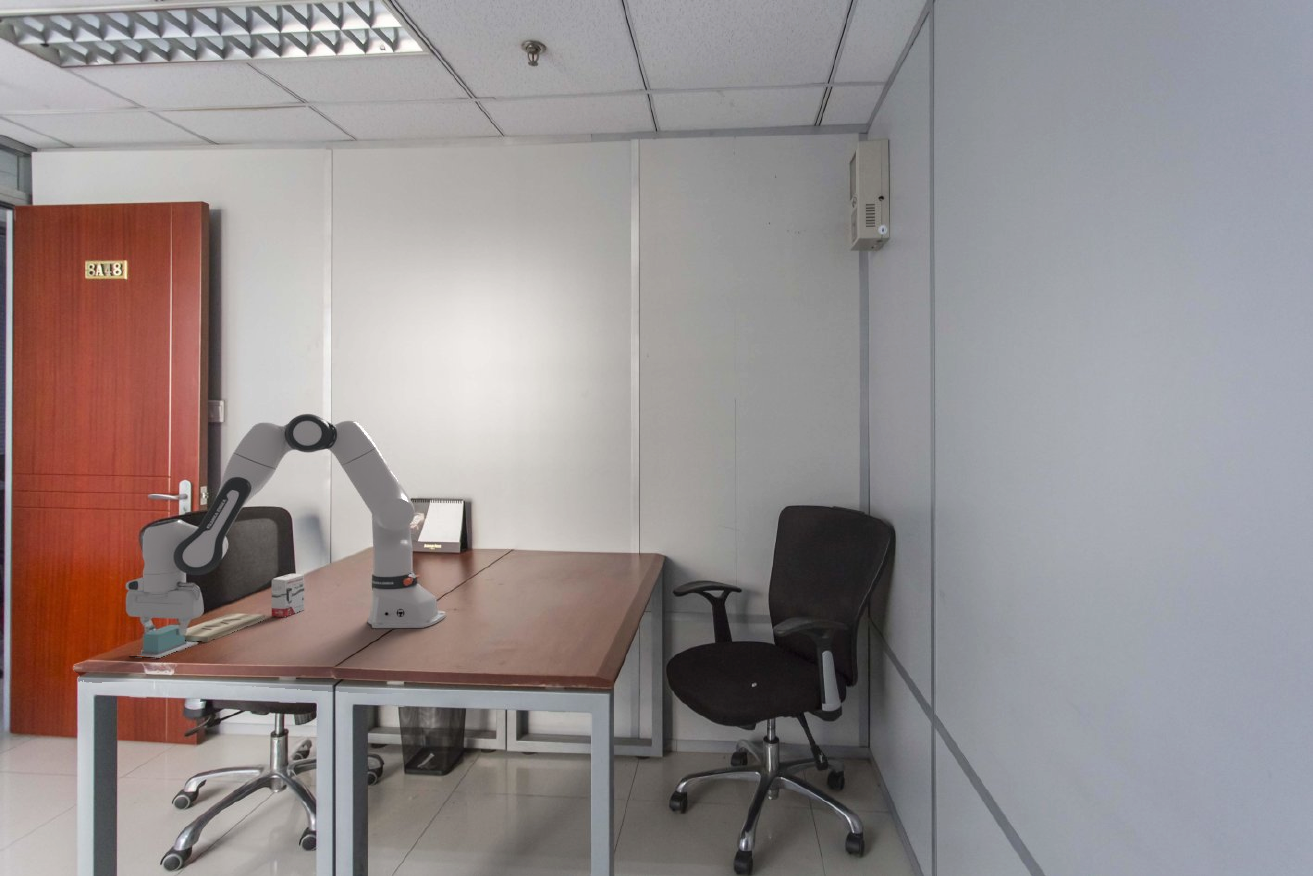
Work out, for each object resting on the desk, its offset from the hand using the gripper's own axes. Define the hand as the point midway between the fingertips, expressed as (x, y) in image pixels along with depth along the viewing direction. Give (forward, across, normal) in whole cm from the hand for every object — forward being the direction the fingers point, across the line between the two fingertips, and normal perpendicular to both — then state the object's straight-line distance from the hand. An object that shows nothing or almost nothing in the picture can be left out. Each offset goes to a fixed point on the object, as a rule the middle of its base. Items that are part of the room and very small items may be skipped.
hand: (165, 633), depth 160 cm
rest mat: (+4, 0, 0) cm, 4 cm away
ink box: (+5, -8, -34) cm, 35 cm away
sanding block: (+4, 0, 0) cm, 4 cm away
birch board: (+4, 0, -17) cm, 17 cm away
